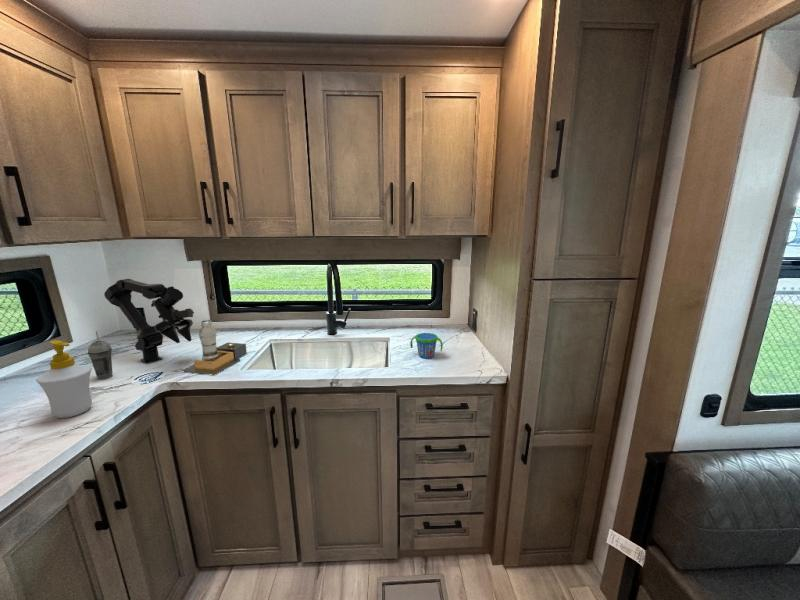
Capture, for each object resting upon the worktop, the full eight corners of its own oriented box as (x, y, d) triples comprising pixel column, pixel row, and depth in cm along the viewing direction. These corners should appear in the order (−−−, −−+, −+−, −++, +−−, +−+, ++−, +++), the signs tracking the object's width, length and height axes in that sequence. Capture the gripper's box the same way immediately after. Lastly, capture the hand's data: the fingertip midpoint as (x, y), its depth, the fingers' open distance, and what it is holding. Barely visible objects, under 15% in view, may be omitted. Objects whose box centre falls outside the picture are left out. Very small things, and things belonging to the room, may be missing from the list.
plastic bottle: (221, 365, 144) (216, 321, 140) (203, 368, 140) (197, 324, 136) (219, 360, 149) (214, 318, 145) (202, 363, 145) (196, 320, 141)
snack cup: (406, 357, 156) (407, 336, 154) (415, 350, 165) (415, 330, 163) (438, 362, 150) (438, 341, 148) (444, 355, 159) (445, 335, 157)
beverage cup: (114, 371, 139) (106, 326, 135) (118, 376, 134) (109, 330, 130) (91, 377, 133) (81, 331, 129) (95, 383, 129) (84, 334, 124)
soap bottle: (59, 426, 100) (40, 351, 95) (37, 417, 105) (18, 345, 100) (107, 406, 112) (93, 337, 107) (86, 399, 117) (71, 333, 111)
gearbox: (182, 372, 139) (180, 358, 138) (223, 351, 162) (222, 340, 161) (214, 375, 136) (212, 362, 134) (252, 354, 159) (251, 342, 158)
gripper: (171, 300, 133) (190, 333, 134) (194, 302, 152) (211, 331, 152) (145, 314, 132) (165, 347, 132) (172, 314, 151) (189, 343, 151)
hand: (184, 341), depth 142 cm, fingers open, 9 cm apart
